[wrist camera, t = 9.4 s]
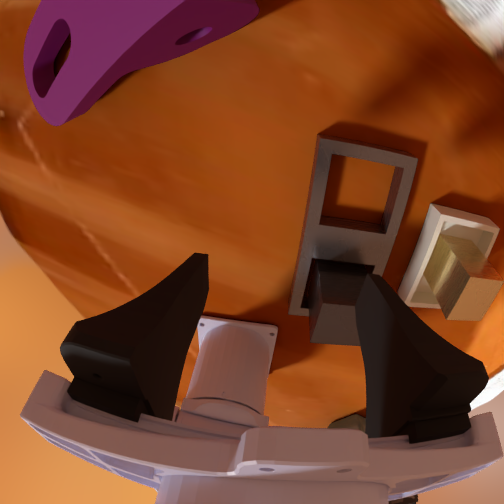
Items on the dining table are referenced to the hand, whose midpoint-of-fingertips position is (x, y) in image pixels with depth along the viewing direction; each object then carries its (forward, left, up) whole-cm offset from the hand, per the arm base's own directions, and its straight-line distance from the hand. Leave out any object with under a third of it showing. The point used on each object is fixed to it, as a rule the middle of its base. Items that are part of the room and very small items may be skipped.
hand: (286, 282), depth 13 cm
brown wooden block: (-3, -15, -10) cm, 18 cm away
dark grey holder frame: (-2, -5, -10) cm, 11 cm away
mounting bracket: (+13, +13, -10) cm, 21 cm away
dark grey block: (-6, -5, -10) cm, 13 cm away
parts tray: (-3, -15, -10) cm, 18 cm away
